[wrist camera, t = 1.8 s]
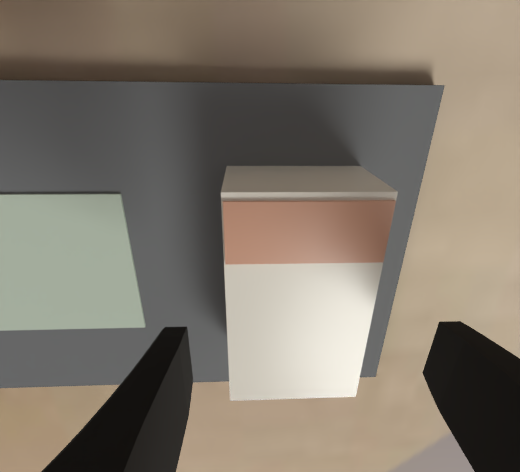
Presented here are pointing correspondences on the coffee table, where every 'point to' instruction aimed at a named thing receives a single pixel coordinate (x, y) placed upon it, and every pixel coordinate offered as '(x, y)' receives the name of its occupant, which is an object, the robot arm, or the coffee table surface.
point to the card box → (301, 276)
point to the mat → (167, 209)
